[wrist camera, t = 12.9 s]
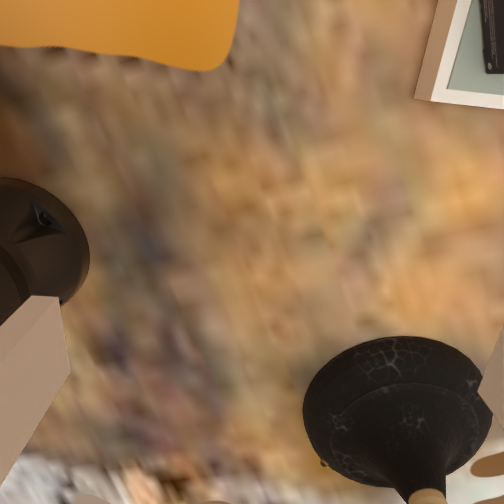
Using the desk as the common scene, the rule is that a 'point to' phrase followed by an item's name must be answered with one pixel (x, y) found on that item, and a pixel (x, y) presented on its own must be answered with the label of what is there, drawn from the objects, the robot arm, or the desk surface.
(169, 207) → the desk surface
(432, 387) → the banker's lamp
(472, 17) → the base
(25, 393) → the robot arm
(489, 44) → the small box
